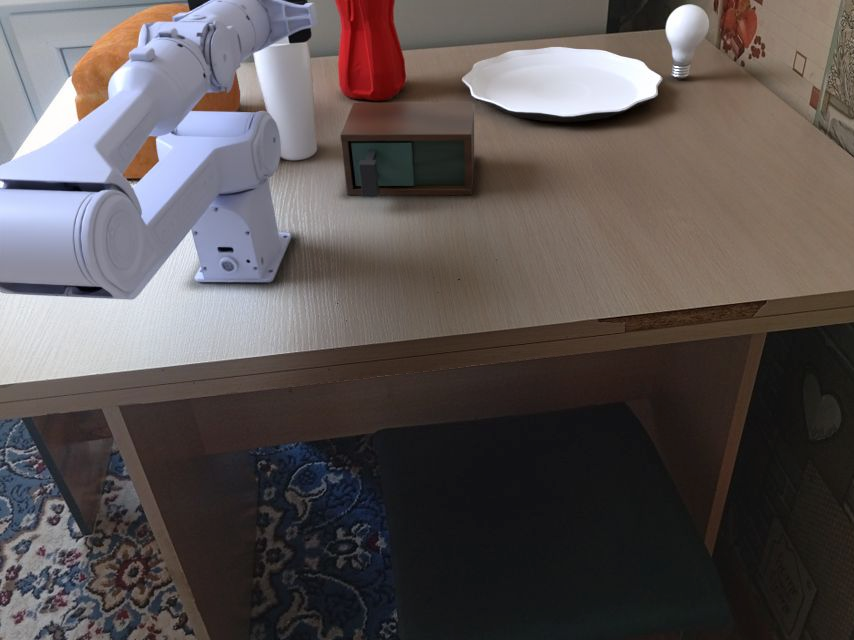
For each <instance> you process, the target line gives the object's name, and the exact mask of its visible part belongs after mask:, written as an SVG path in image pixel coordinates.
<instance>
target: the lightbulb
mask: <svg viewBox="0 0 854 640" xmlns="http://www.w3.org/2000/svg"><path fill="white" fill-rule="evenodd" d="M709 20H710V19H709V16H708V14H707V13H706V11H705V10H704V9H703V8H702V7H701V6H698V5H696V4H690V3H689V4H683V5H679V6H678V7H677V8H675V9H674V10H673V11H672V12H671V13H670V14H669V16H668V18H667V19H666V23H665V36H666V39H667V41H668V43H669V45H670V47H671V57H672V67H671V76H672V77H673V78H674V79H676V80H678V81H680V80H683V79H686V78H687V77H689V76H690V68H691V63H692V60H693V59H694V56H695V55H696V50H697V49H698V48H699V46H701V44H702V43H703V42H704V41H705V39H706V38H707V36H708V33H709V29H710V21H709Z"/></svg>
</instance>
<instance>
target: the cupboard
mask: <svg viewBox="0 0 854 640" xmlns="http://www.w3.org/2000/svg"><path fill="white" fill-rule="evenodd" d="M339 136H340V137H339V138H340V146H341V155H342V161H343V170H344V178H345V179H344V180H345V184H346V186H345V187H346V193H347V194H346V195H347V196H362V188H361V186H356V183H355V175H354V166H353V157H352V148H351V142H352V141H412V151H413V167H414V183H415V184H414V186H379V195H378V196H472V195H473V191H474V190H473V188H474V173H475V102H474V101H467V102H466V101H462V102H461V101H460V102H459V101H455V102H453V101H451V102H442V101H441V102H440V101H439V102H437V101H436V102H353V103H352V104H351V106H350V109H349V112H348V114H347V117H346V119H345V122H344V124H343V127H342V129H341V132H340V134H339Z"/></svg>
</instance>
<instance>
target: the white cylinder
mask: <svg viewBox="0 0 854 640" xmlns="http://www.w3.org/2000/svg"><path fill="white" fill-rule="evenodd" d="M252 56H253V60H254V67H255V72H256V76H257V81H258V83H259V88H260V92H261V95H262V99H263V102H264V106H265V111H266V112H268V113H269V114H270V115H271V116H272V118H273V119H274V120H275V122H276V124H277V127H278V130H279V135H280V144H281V152H280V159H283V160H286V161H302V160H306V159H309V158H311V157H312V156H314V155H315V154H316V153H317V151H318V142H317V134H316V117H315V100H314V84H313V83H314V80H313V79H314V78H313V69H312V68H313V67H312V59H311V52H310V45H309V40H308V41H306V42H304V43H291V44H290V43H289V39H288V36H287V37H285V38H283V39H282V40H280V41H278V42H276V43H274V44H272V45H270V46H268V47H266V48H264V49H262V50H260V51H258V52H255V53H253V54H252Z"/></svg>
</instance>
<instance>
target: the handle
mask: <svg viewBox="0 0 854 640" xmlns="http://www.w3.org/2000/svg"><path fill="white" fill-rule="evenodd" d="M351 148H352V157H353V166H354V175H355V183H356V186H361V188H362V195H361V196H362V198H378V197H379V196H380V195H379V186H414V184H415V183H414V167H413V151H412V141H352V142H351Z"/></svg>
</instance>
